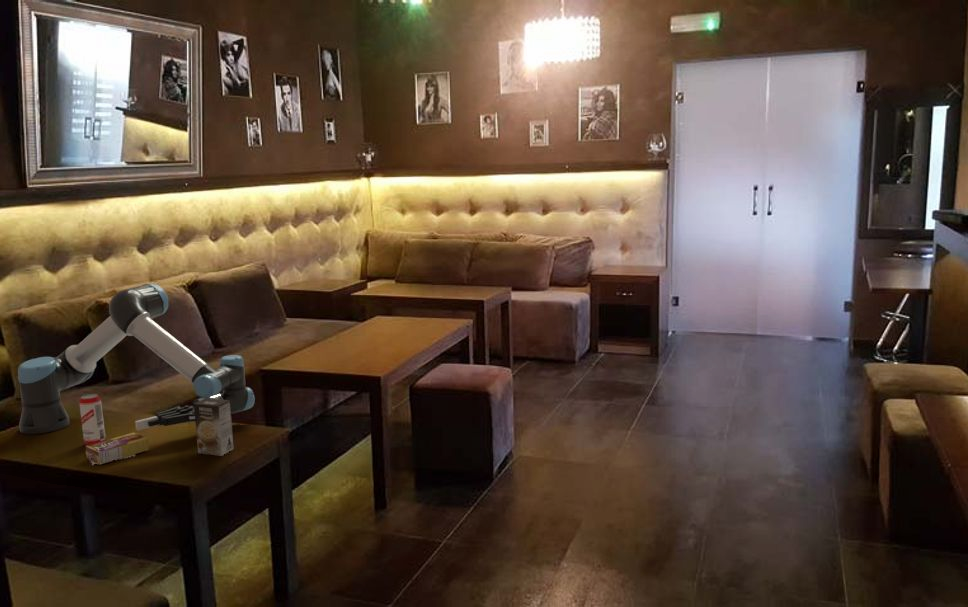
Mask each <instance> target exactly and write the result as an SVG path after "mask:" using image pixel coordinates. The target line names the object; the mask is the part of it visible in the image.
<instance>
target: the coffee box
mask: <svg viewBox="0 0 968 607" xmlns="http://www.w3.org/2000/svg"><path fill="white" fill-rule="evenodd" d="M194 412H195V421H194V423H195V432H196V442H197V444H196V445H197V453H198V454H201V453H202V454H203V455H209V454H210V456H211V455H212V456H219V457H223V456H224V454H225V455H226V454H227V453H230V452H231V451H233V450H234V439H233V438H234V437H233V425H232V415H231V414H232V413H231V410H230V400H222V399H212V398H205V399H203V400H201V401H198V402H197V403H195V404H194ZM229 451H230V452H229Z"/></svg>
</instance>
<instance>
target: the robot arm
mask: <svg viewBox="0 0 968 607" xmlns="http://www.w3.org/2000/svg"><path fill="white" fill-rule="evenodd" d="M168 309H169V297H168V295H167V293H166V291H165V290H164V288H163V287H162V286H160V285H159V284H156V283H144V284H142V285H139V286H135V287H131V288H126V289H122V290H120V291H118V292H116V293H115V294H114V295H113V296H112V297H111V299H110V301H109V305H108V313H109V315H110V316H108V317H107V318H106V319H105V320H103V322H101V323H100V325H98V326H97V327H96V328H95V329H94V330H93V331H91V332H90V333H89V334H88V335H87V336H86V337H85V338H84V339H83V340H82V341H80V342H79V343H78V344H72V345H70V346H68V347H67V348H66V349H65V350H64V351H63V352H61V353H60V354H59V355H58V356H56V357H55V356H53V357H52V356H40V357H37V358H31V359H29V360H26V361H24V362H22V363H21V364H19V366H18V367H17V375H18V376H17V380H18V386H19V393H20V399H21V406H22V410H21V414H20V418H19V425H18V427H19V428H18V429H19V432H20V433H21V434H25V435H37V434H39V435H40V434H45V433H50V432H56V431H60V430H61V429H64V428H66V427H67V426H69V425H70V417H69V414H68V413H67V411H66V409H65V407H64V404H63V403H62V399H61V391H64V390H66V389H69V388H71V387H75V386H76V385H80V384H83V383H85V382H86V381H87V380H89V379H90V378H91V377H92V376H93V375H94V372H95V369H96V368H97V362H99V360H100V359H102V358H103V357H104V356H105V355H106V354H108V352H110V351H111V350H112V349H113V348H114V347H115V346H117V345H118V344H119V343H120V342H122V340H123V339H124V338H125V337H127V336H128V337H131V336H132V337H135V338H136V339H137V340H138V341H140V342H141V343H142V344H143V345H144V346H146V347H147V348H148V349H149V350H151V351H152V352H153V353H154V354H155V355H157V356H158V357H159V358H161V359H162V360H163V361H164V362H166V363H167V364H169V365H170V366H171V367H172V368H174V370H175V371H177V372H178V373H179V374H181V375H182V376H184V377H185V378H186V379H187V380H189V381H190V382H191V383H192V387H193V391H194V392H195V394H196V395H197V396H198V398H196V399H194V400H193V402H192V404H191V405H184V406H182V407H181V405H177V406H175V407H172V408H169V409H166V410H164V411H163V410H162V411H160V412H157V413H154V416H150V417H147V418H143V419H138V420H135V421H134V423H135V425H134V426H135V430H136V431H141V430H145V429H149V428H150V429H151V428H153V427H156V426H157V427H158V426H164V427H168V426H173V425H178V424H184V423H189V422H192V423H193V422H195V412H194V404H195V403H197V402H198V401H201V400H203V399H205V398H212V399H222V400H230V410H231V414H235V413H239V412H243V411H246V410H249V409H252V408H253V407H254V404H255V403H256V402H255V399H256V398H255V395H254V392H253V389H251V387H249V386H246V376H245V373H246V372H245V363H244V358H243V356H242V355H239V354H230V355H225V356H222V357H221V358H220V360H219V367H217V368H213V367H212V366H211V365H209V363H207V362H206V361H205V360H203V359H202V358H201V357H200V356H198V355H197V354H195V352H193V351H192V350H191V349H189V348H188V347H187V346H186V345H184V344H183V343H182V342H180V341H179V340H178V339H177V338H176V337H174V336H173V335H172V334H170V333H169V332H168V331H167V329H164V328H163V327H162V326H160V325H159V324H158V323H157V322H156V321H154V320H153V319H155V318H158V317H160V316H162V315H164V314H165V313H166V312H167V311H168Z"/></svg>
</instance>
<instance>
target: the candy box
mask: <svg viewBox="0 0 968 607" xmlns="http://www.w3.org/2000/svg"><path fill="white" fill-rule="evenodd" d="M145 451H149V442H148V437H146V436H143V435H141V434H138V433H136V432H130V433H127V434H124V435H120V436H117V437H113V438H109V439H106V440H105V441H102V442H99V443H96V444H92V445H89V446H87V445H85V455H86V459H88V460H89V459H90V460H92V461H94V462H96V463H98V464H97V465H103V464H106V463H109V462H114V461H113V460H115V461H118V460H117V459H119V460H121V459H120V458H123V457H127V456H130V455H133V454H135V455H136V454H139V453H142V452H143V453H144V452H145ZM90 460H89V461H90Z"/></svg>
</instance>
